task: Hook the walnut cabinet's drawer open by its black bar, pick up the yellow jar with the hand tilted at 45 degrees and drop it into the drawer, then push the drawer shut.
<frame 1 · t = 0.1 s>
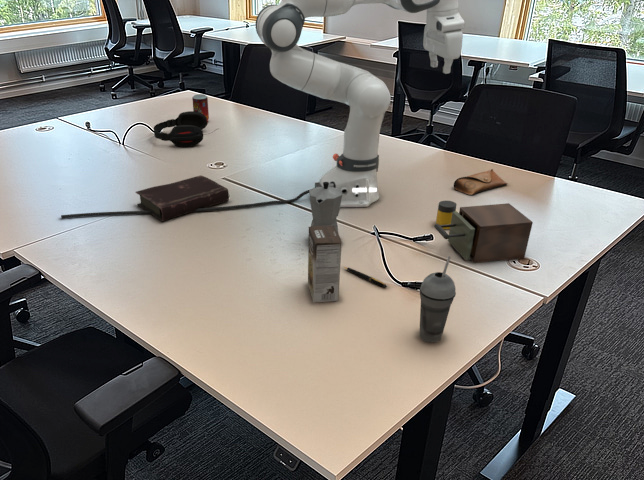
hand: (440, 69, 177), 39 cm above the table, tool pointing down, fingers open, 8 cm apart
headset: (188, 139, 256), on the table
drawer: (471, 234, 158), point 5 cm above the table, slide at 1.0 cm
yellow jar: (444, 225, 175), on the table
fountain pen: (364, 279, 150), on the table
soda can: (201, 122, 278), on the table
diary: (183, 204, 195), on the table
beverage cup: (430, 337, 128), on the table
coffeepot: (324, 240, 169), on the table
sunglasses case: (480, 187, 200), on the table
cabinet: (488, 249, 161), on the table
coffee box: (322, 293, 145), on the table
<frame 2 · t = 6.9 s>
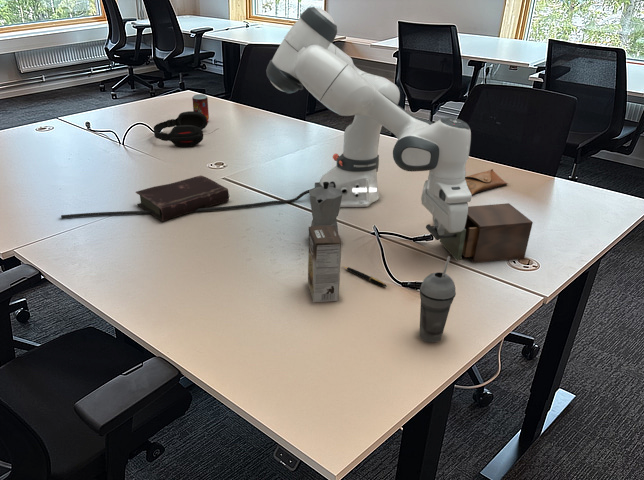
hand: (438, 233, 156), 6 cm above the table, tool pointing down, fingers closed, pressing on drawer
drawer: (463, 234, 158), point 5 cm above the table, slide at 3.4 cm, touching gripper
everything else where it was.
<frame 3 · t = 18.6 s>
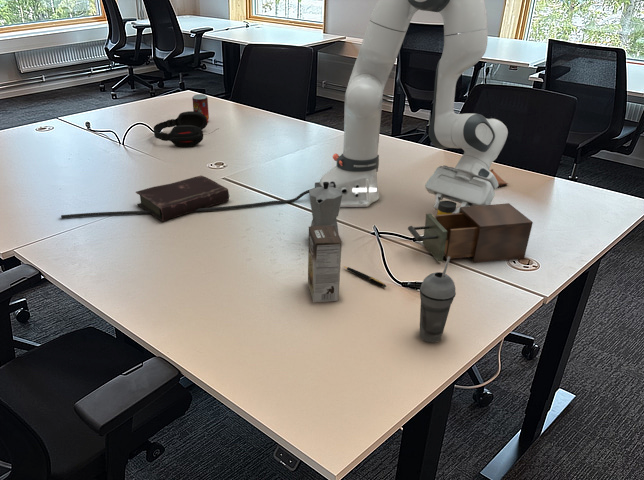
hand: (445, 212, 172), 4 cm above the table, tool tilted 45°, fingers closed on yellow jar, 5 cm apart
drawer: (445, 236, 157), point 5 cm above the table, slide at 8.4 cm
yellow jar: (444, 225, 175), on the table, touching gripper
everything else where it was.
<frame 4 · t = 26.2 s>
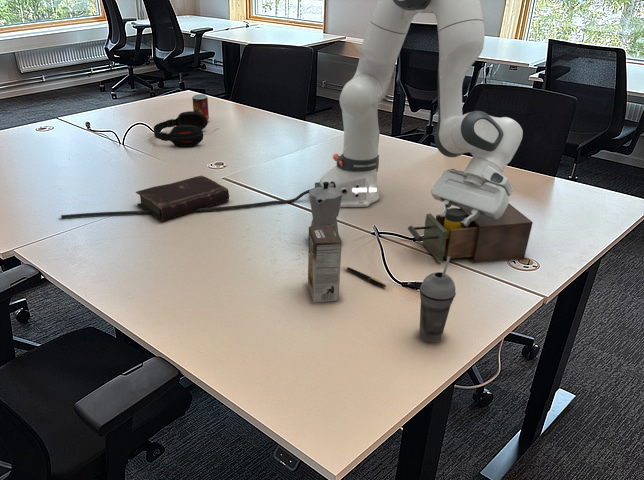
hand: (453, 221, 155), 10 cm above the table, tool tilted 45°, fingers closed on yellow jar, 5 cm apart
yellow jar: (452, 235, 157), point 5 cm above the table, touching gripper
everything else where it was.
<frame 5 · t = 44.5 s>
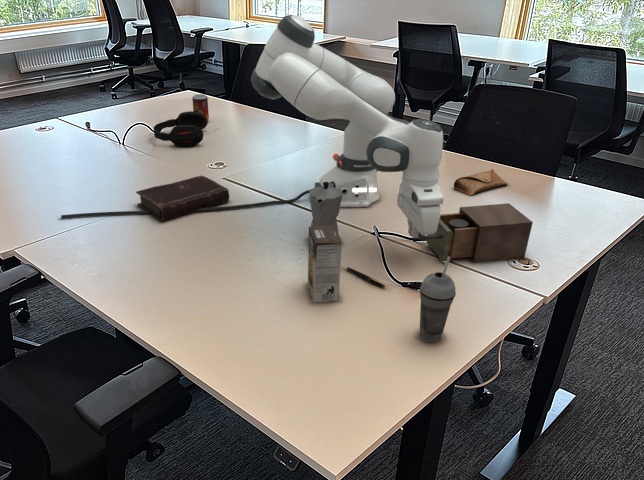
hand: (413, 235, 156), 6 cm above the table, tool pointing down, fingers closed, pressing on drawer
drawer: (449, 236, 157), point 5 cm above the table, slide at 7.2 cm, touching yellow jar, gripper
yellow jar: (454, 246, 159), point 2 cm above the table, touching drawer
everything else where it was.
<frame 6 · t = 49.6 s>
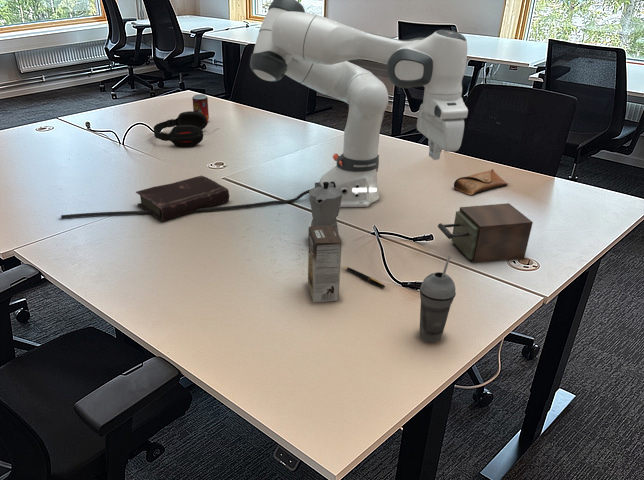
hand: (434, 158, 151), 25 cm above the table, tool pointing down, fingers closed
drawer: (475, 233, 158), point 5 cm above the table, slide at 0.0 cm, touching cabinet, yellow jar
yellow jar: (480, 244, 160), point 2 cm above the table, touching drawer
everything else where it was.
at the end: drawer pulled out 8.4 cm at the most during the clip, back to where it started at the end; yellow jar inside the target area in the cabinet (2.5 cm from its centre), point 2.0 cm above the cabinet's base; drawer slide at 0.0 cm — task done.
